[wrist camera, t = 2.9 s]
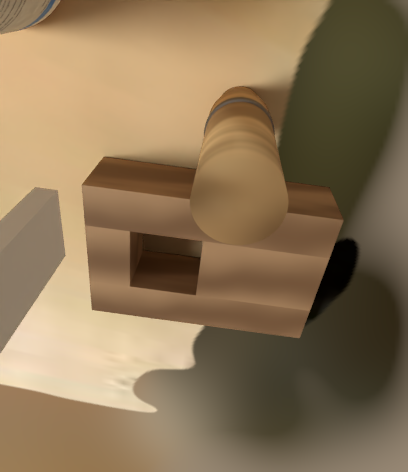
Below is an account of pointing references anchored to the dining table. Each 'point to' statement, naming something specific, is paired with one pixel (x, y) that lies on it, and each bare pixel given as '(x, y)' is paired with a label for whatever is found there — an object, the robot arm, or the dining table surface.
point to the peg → (239, 172)
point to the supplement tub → (24, 13)
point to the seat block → (212, 257)
